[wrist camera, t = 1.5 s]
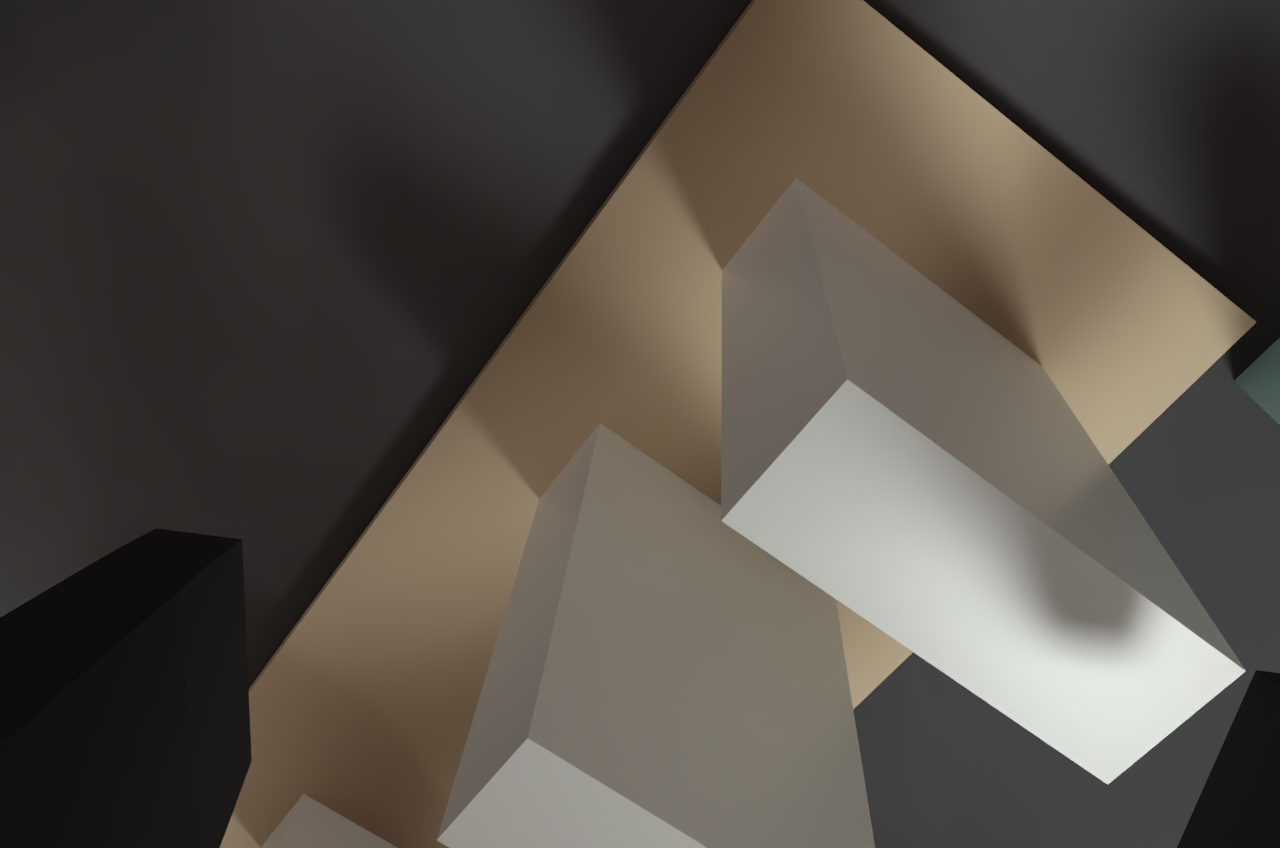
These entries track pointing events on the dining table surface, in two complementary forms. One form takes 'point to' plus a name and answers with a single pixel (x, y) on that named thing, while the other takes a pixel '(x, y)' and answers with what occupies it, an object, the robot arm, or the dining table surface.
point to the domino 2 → (657, 682)
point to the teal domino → (1264, 380)
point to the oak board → (703, 377)
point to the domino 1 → (320, 829)
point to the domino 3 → (948, 492)
